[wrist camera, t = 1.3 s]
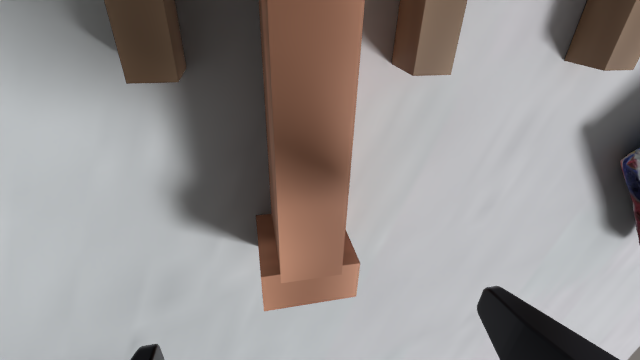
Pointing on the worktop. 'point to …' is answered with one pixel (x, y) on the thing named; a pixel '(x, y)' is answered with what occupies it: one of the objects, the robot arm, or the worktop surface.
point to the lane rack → (409, 47)
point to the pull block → (309, 149)
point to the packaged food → (633, 182)
